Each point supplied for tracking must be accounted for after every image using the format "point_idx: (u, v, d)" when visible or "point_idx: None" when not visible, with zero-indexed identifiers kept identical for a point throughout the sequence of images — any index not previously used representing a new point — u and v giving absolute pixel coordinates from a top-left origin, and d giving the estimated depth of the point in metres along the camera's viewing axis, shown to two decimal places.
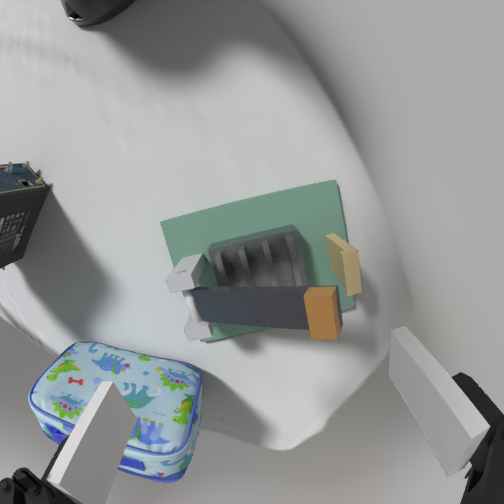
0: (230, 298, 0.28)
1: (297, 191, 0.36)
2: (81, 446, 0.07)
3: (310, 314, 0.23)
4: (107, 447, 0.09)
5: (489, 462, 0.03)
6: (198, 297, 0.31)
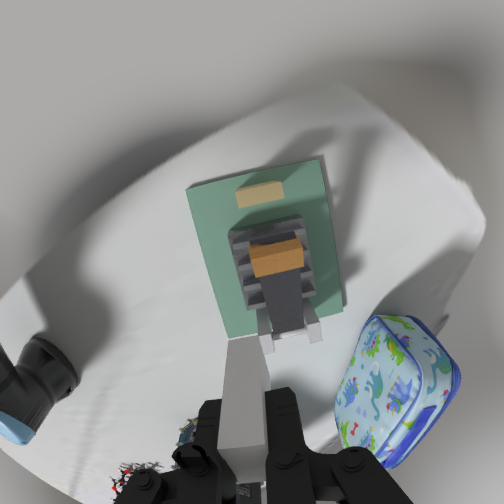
0: (275, 313, 0.32)
1: (198, 226, 0.39)
2: None
3: (275, 270, 0.25)
4: None
5: (267, 491, 0.05)
6: (280, 330, 0.35)
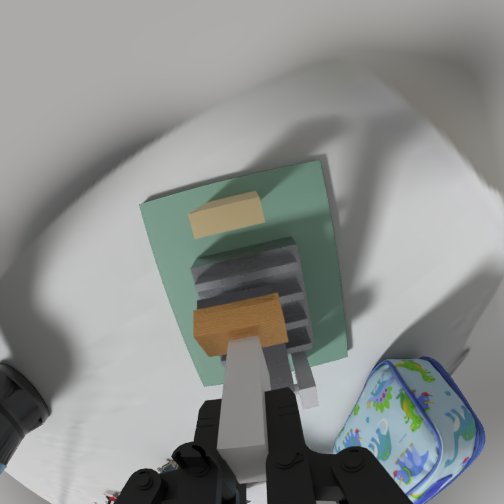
0: None
1: (157, 252, 0.29)
2: None
3: None
4: None
5: (267, 491, 0.05)
6: None
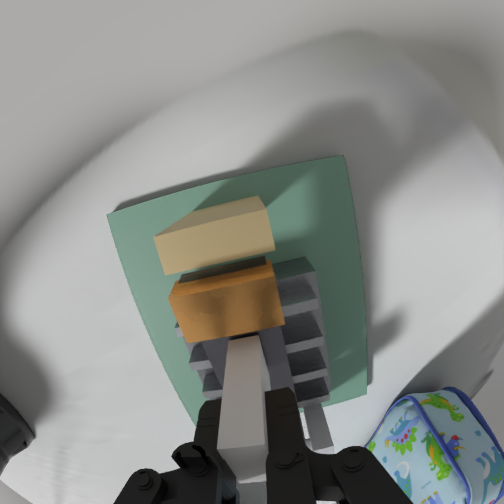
0: None
1: (130, 276, 0.22)
2: None
3: (223, 330, 0.12)
4: None
5: (267, 491, 0.05)
6: None
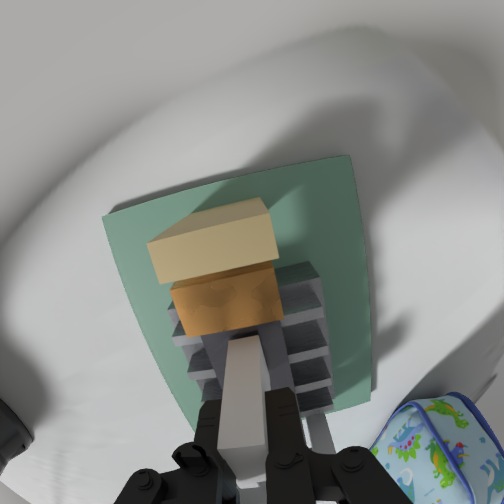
0: None
1: (127, 281, 0.21)
2: None
3: (223, 324, 0.12)
4: None
5: (267, 491, 0.05)
6: None
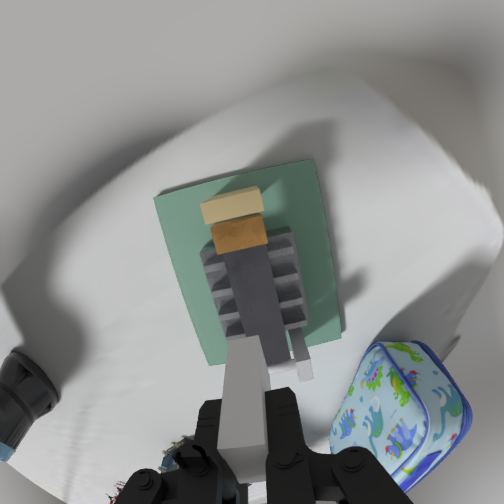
0: (251, 327, 0.28)
1: (169, 240, 0.33)
2: None
3: (236, 246, 0.24)
4: None
5: (267, 491, 0.05)
6: None
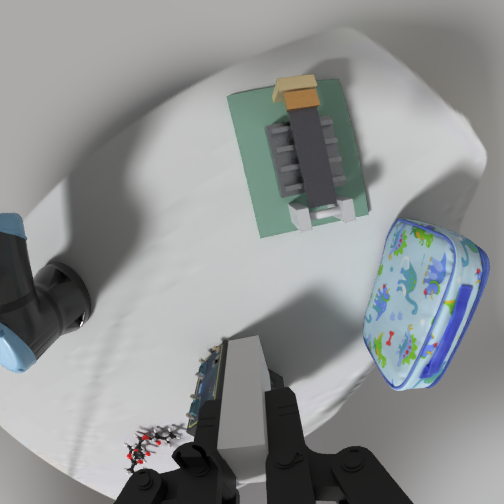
0: (307, 170, 0.36)
1: (237, 126, 0.41)
2: None
3: (300, 105, 0.32)
4: None
5: (267, 491, 0.05)
6: (314, 201, 0.37)
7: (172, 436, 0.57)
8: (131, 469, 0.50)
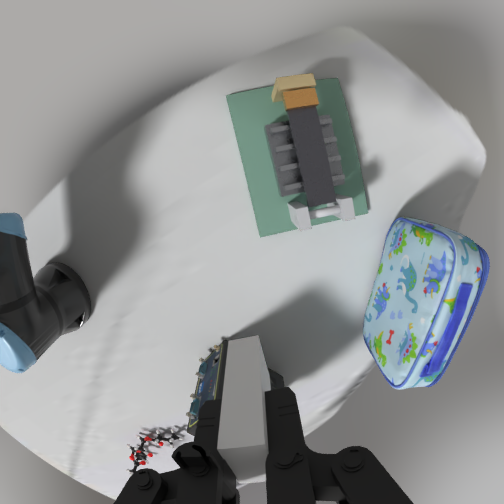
0: (307, 168, 0.36)
1: (236, 125, 0.41)
2: None
3: (299, 104, 0.32)
4: None
5: (267, 491, 0.05)
6: (314, 200, 0.37)
7: (175, 437, 0.57)
8: (134, 470, 0.50)
